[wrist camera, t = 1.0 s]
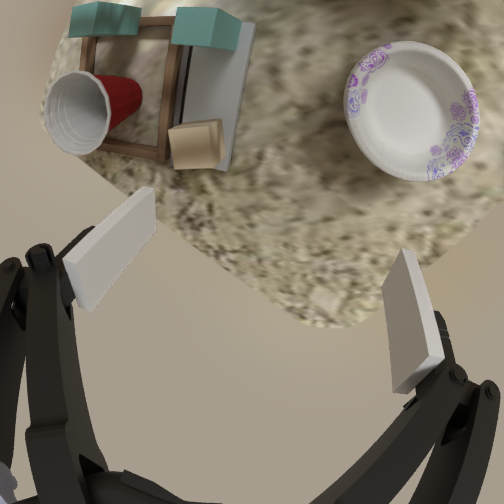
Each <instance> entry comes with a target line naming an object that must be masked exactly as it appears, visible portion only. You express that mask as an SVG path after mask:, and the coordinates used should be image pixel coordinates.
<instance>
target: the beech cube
mask: <svg viewBox="0 0 504 504" xmlns="http://www.w3.org/2000/svg"><path fill="white" fill-rule="evenodd" d="M168 134H169V140H170V146H171V152H172V158H173V164H174V170H176V169H199V168H214V167H215V166H216V165H217V164H218V163H219V162H220V161H221V160H222V159H223V158H224V157H225V156H226V152H225V143H224V133H223V124H222V119H209V120H198V121H188V122H184V123H182V124H180V125H177V126H175V127H173V128H171V129H169V130H168Z"/></svg>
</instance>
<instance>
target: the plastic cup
mask: <svg viewBox="0 0 504 504" xmlns="http://www.w3.org/2000/svg"><path fill="white" fill-rule="evenodd" d="M141 101H142V90H141V88H140V86H139V84H138V83H137V82H136V81H134V80H132V79H129V78H125V77H117V76H109V75H94V74H91V73H90V72H86V71H80V70H71V71H69V72H66V73H63V74H61V75H60V76H59V77H58V78H57V79H56V80H55V81H54V82H53V83H52V84H51V86H50V88H49V91H48V93H47V96H46V98H45V105H44V118H45V123H46V128H47V131H48V133H49V135H50V136H51V138H52V140H53V142H54V143H55V144H56V145H57V146H58V147H59V148H61V149H62V150H63V151H64V152H66V153H69V154H72V155H75V156H79V155H86V154H90V153H91V152H92V151H94V150H95V149H96V148H98V147H99V146H100V145H101V143H102V141H103V140H104V138H105V136H106V134H107V133H108V132H109V131H110V130H112V129H113V128H114V127H116V126H117V125H118V124H120V123H121V122H122V121H124V120H125V119H126V118H127V117H128V116H130V115H131V114H133V113H134V112H135V111H136V110H137V109H138V108H139V106H140V105H141Z"/></svg>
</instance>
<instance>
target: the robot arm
mask: <svg viewBox="0 0 504 504" xmlns="http://www.w3.org/2000/svg"><path fill="white" fill-rule="evenodd" d="M155 232H156V210H155V188H150V187H145V186H142V187H141V188H140V189H139V190H137V191H136V192H135V193H134V194H133V195H131V196H130V197H129V198H128V199H127V200H126V201H124V202H123V203H122V204H121V205H120V206H118V207H117V208H116V209H115V210H114V211H113V212H111V213H110V214H109V215H108V216H107V217H106V218H105V219H104V220H102V221H101V222H100V223H99V224H98V225H97V226H91V227H89V228H87V229H85V230H83V231H82V232H81V233H80V234H79V235H78V236H77V237H76V238H75V239H73V240H72V241H71V243H69V244H68V245H67V246H66V247H65V248H64V249H63V250H62V251H61V252H60V253H59V254H58V255H57V256H56V257H55V256H54V253H53V250H52V247H51V246H50V245H49V244H46V243H43V244H37V245H35V246H33V247H32V248H30V249H29V250H28V251H27V253H26V255H25V258H26V261H27V263H28V266H29V267H22V264H21V262H20V259H18V258H16V257H12V258H8V259H6V260H4V261H3V262H2V263H1V264H0V504H221V503H201V502H200V503H199V502H188V501H184V500H182V499H180V498H178V497H177V496H175V495H173V494H172V493H170V492H169V491H167V490H165V489H164V488H162V487H161V486H159V485H158V484H156V483H155V482H153V481H150V480H148V479H145V478H143V477H140V476H138V475H136V474H134V473H131V472H129V471H127V470H124V471H123V472H115V471H109V470H108V466H107V464H106V461H105V458H104V456H103V454H102V452H101V451H100V449H99V447H98V445H97V443H96V439H95V435H94V432H93V428H92V424H91V420H90V416H89V412H88V408H87V403H86V398H85V393H84V388H83V384H82V378H81V372H80V367H79V360H78V353H77V345H76V336H75V327H74V316H73V307H72V304H71V302H72V301H73V300H74V299H75V298H76V300H77V303H78V306H79V307H81V308H83V309H85V310H88V311H90V312H92V311H93V310H94V308H95V307H96V306H97V304H98V303H99V302H100V300H101V299H102V298H103V296H104V295H105V294H106V293H107V291H108V290H109V289H110V287H111V286H112V285H113V283H114V282H115V281H116V280H117V278H118V277H119V276H120V275H121V273H122V272H123V271H124V270H125V268H126V267H127V266H128V265H129V263H130V262H131V261H132V260H133V258H134V257H135V256H136V255H137V254H138V252H139V251H140V250H141V249H142V248H143V246H144V245H145V244H146V243H147V242H148V241H149V240H150V238H151V237H152V236H153V235H154V233H155ZM381 288H382V294H383V301H384V308H385V315H386V321H387V330H388V339H389V349H390V360H391V372H392V386H393V393H400V394H408V393H410V392H411V391H412V390H413V389H414V388H416V395H415V396H414V397H413V398H412V399H411V400H410V401H409V402H407V403H406V404H405V405H404V406H403V407H404V409H403V411H402V412H401V413H400V414H399V416H398V417H397V418H396V419H395V420H394V422H393V423H392V424H391V425H390V426H389V428H388V429H387V430H386V431H385V432H384V433H383V434H382V436H381V437H380V438H379V439H378V440H377V441H376V442H375V443H374V444H373V445H372V446H371V448H370V449H369V450H368V451H367V452H366V453H365V454H364V455H363V456H362V457H361V458H360V459H359V460H358V461H357V462H356V463H355V464H354V465H353V466H352V467H351V468H350V469H348V470H347V471H346V472H345V473H344V474H343V475H342V476H341V477H340V478H339V479H338V480H337V481H335V482H334V483H333V484H332V485H331V486H330V487H329V488H328V489H326V490H325V491H324V492H323V493H322V494H320V495H319V496H318V497H317V498H316V499H314V500H313V501H312V502H311V503H310V504H389V503H390V502H391V501H392V499H393V498H394V497H395V496H396V495H397V494H398V492H399V491H400V490H401V489H402V487H403V486H404V485H405V484H406V482H407V481H408V480H409V479H410V477H411V476H412V475H413V474H414V472H415V471H416V469H417V468H418V467H419V465H420V464H421V462H422V461H423V460H424V458H425V457H426V456H427V454H428V453H429V451H430V450H431V448H432V446H433V445H434V444H435V445H434V448H433V451H432V453H431V456H430V458H429V461H428V463H427V466H426V468H425V470H424V473H423V475H422V477H421V479H420V482H419V484H418V486H417V488H416V490H415V492H414V494H413V496H412V498H411V500H410V502H409V504H476V502H477V498H478V496H479V493H480V490H481V487H482V484H483V480H484V477H485V474H486V470H487V466H488V462H489V459H490V455H491V450H492V446H493V441H494V436H495V431H496V425H497V420H498V413H499V406H500V391H499V388H498V387H497V385H496V384H495V383H494V382H493V381H491V380H485V381H484V382H483V383H482V384H481V385H477V384H475V383H473V382H471V381H469V380H468V376H467V374H466V372H465V370H464V369H463V368H462V367H461V366H459V365H458V364H456V362H455V358H454V353H453V350H452V345H451V341H450V339H449V334H448V331H447V327H446V323H445V320H444V319H443V317H442V315H441V314H440V312H439V311H434V310H433V308H432V305H431V301H430V298H429V295H428V292H427V288H426V285H425V282H424V279H423V276H422V273H421V270H420V267H419V264H418V261H417V259H416V256H415V253H414V251H411V250H407V249H404V248H401V250H400V252H399V254H398V256H397V258H396V260H395V262H394V264H393V266H392V268H391V270H390V272H389V274H388V276H387V278H386V279H385V281H384V283H383V285H382V287H381ZM12 303H13V305H12ZM11 306H12V308H11ZM25 356H26V377H27V392H28V403H29V412H30V420H31V425H30V427H29V428H27V429H26V432H25V440H26V446H27V452H28V457H29V462H30V467H31V471H32V475H33V479H34V483H35V486H36V490H37V494H38V495H36V496H33V497H30V498H27V499H24V500H21V501H17V500H16V498H15V496H14V492H13V490H15V489H16V488H17V481H16V479H15V477H14V476H12V474H11V471H10V468H11V464H12V458H13V450H14V436H15V424H16V412H17V404H18V397H19V390H20V383H21V377H22V372H23V366H24V361H25ZM435 442H436V443H435Z"/></svg>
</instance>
